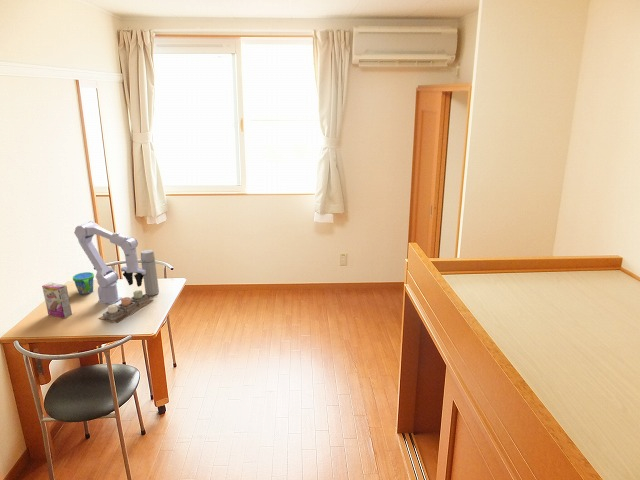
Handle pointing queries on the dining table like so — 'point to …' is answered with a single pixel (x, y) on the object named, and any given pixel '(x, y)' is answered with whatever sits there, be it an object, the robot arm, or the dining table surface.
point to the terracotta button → (125, 302)
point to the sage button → (138, 295)
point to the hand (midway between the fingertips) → (135, 285)
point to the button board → (126, 309)
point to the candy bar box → (57, 300)
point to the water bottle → (149, 272)
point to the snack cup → (84, 282)
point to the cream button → (112, 309)
